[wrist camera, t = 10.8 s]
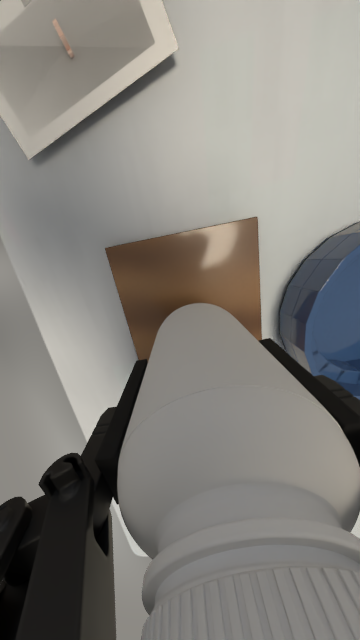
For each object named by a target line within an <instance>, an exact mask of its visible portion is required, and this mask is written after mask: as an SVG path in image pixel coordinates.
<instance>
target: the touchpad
mask: <svg viewBox="0 0 360 640" xmlns="http://www.w3.org/2000/svg"><path fill="white" fill-rule="evenodd" d="M178 49H179V47H178V44H177V42H176V39H175V36H174V33H173V30H172V27H171V25H170V22H169V19H168V16H167V13H166V10H165V8H164V5H163V2H162V0H2V1H1V2H0V116H1V117H2V119H3V120H4V122H5V124H6V125H7V127H8V128H9V130H10V131H11V133H12V134H13V136H14V138H15V139H16V141H17V142H18V144H19V145H20V147H21V149H22V150H23V152H24V153H25V155H26V156H27V158H28V160H30V159H31V158H32V157H34V156H35V155H36V154H38V153H39V152H40V151H42V150H43V149H44V148H46V147H47V146H48V145H50V144H51V143H52V142H54V141H55V140H57V139H58V138H59V137H61V136H62V135H63V134H65V133H66V132H67V131H69V130H70V129H71V128H73V127H74V126H75V125H77V124H78V123H80V122H81V121H82V120H84V119H85V118H86V117H88V116H89V115H90V114H92V113H93V112H94V111H96V110H97V109H98V108H100V107H101V106H102V105H104V104H105V103H107V102H108V101H109V100H111V99H112V98H113V97H115V96H116V95H117V94H119V93H120V92H121V91H123V90H124V89H125V88H127V87H128V86H129V85H131V84H132V83H134V82H135V81H136V80H138V79H139V78H140V77H142V76H143V75H144V74H146V73H147V72H148V71H150V70H151V69H152V68H154V67H155V66H157V65H158V64H159V63H161V62H162V61H163V60H165V59H166V58H167V57H169V56H170V55H171V54H173V53H174V52H175V51H177V50H178Z"/></svg>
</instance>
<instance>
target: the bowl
mask: <svg viewBox="0 0 360 640" xmlns="http://www.w3.org/2000/svg"><path fill="white" fill-rule="evenodd" d="M280 335H281V338H282V341H283V343H284V346H285V348H286V351H287V353H288V354H289V355H290V356H291V357H292V358H293V359H295V360H296V361H297V362H298V363H299V364H300V365H301V366H303V367H304V368H305V369H306V370H307V371H308V372H310V373H311V374H312V375H313V376H318V375H324V376H326V377H328V378H330V379H332V380H334V381H336V382H337V383H338V384H340V385H341V386H342V387H344V388H345V390H347V391H349V392H350V393H351V394H353V396H354V397H356V398H358V399H359V400H360V222H358V223H357V224H355V225H353V226H351V227H349V228H347V229H345V230H343V231H341V232H339V233H337V234H335V235H333V236H332V237H330V238H329V239H328V240H327V241H326V242H325V243H323V244H322V245H321V246H320V247H319V248H318V249H317V250H316V251H314V252H313V253H312V254H311V255H310V256H309V257H308V258H307V259H306V260H305V261H304V263H303V264H302V266H301V267H300V269H299V270H298V272H297V273H296V275H295V276H294V278H293V279H292V281H291V282H290V284H289V285H288V288H287V291H286V294H285V297H284V300H283V303H282V306H281V309H280Z"/></svg>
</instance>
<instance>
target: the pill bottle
mask: <svg viewBox="0 0 360 640" xmlns="http://www.w3.org/2000/svg"><path fill="white" fill-rule="evenodd" d="M117 491H118V501H119V507H120V511H121V514H122V517H123V520H124V523H125V525H126V527H127V529H128V531H129V533H130V534H131V536H132V537H133V539H134V540H135V542H136V543H137V544H138V546H139V547H140V548H141V549H142V550H143V551H144V552H145V553H146V554H147V555H148V556H149V557H150V558H152V559H153V560H152V562H151V563H150V565H149V566H148V568H147V570H146V573H145V575H144V580H143V589H142V601H143V605H144V607H145V610H146V611H147V613H148V614H149V615H150V617H148V618H147V620H146V622H145V624H144V626H143V629H142V636H141V640H360V539H359V538H358V537H356V536H355V535H353V534H351V533H350V532H351V530H352V529H353V527H354V525H355V523H356V521H357V518H358V515H359V512H360V467H359V464H358V461H357V458H356V456H355V453H354V451H353V449H352V447H351V445H350V443H349V441H348V439H347V438H346V436H345V434H344V433H343V431H342V429H341V427H340V426H339V424H338V423H337V421H336V420H335V419H334V418H333V417H332V415H331V414H330V413H329V412H328V411H327V410H326V409H325V408H324V407H323V406H322V405H321V404H320V403H319V402H318V400H317V399H316V398H315V397H314V396H313V395H312V394H311V393H310V392H309V391H308V390H307V389H306V388H305V387H304V386H303V385H302V384H301V383H300V382H299V381H298V380H297V379H296V378H295V377H294V376H293V375H292V374H291V373H290V372H289V371H288V370H287V369H286V368H285V367H284V366H283V365H282V364H281V363H280V362H279V361H278V360H277V359H276V358H275V357H274V356H273V355H272V354H271V353H270V352H269V351H268V350H267V349H266V348H265V347H264V346H263V345H262V344H261V343H260V342H259V341H258V340H257V339H256V338H255V337H254V336H253V335H252V334H251V333H250V332H249V331H248V330H247V329H246V328H245V327H244V326H243V325H242V324H241V323H240V322H239V321H238V320H237V319H236V318H235V317H234V316H233V315H231V314H230V313H229V312H227V311H226V310H224V309H222V308H220V307H218V306H216V305H212V304H207V303H194V304H189V305H186V306H183V307H181V308H179V309H177V310H175V311H174V312H172V313H171V314H170V315H169V316H168V317H167V318H166V319H165V320H164V322H163V323H162V325H161V326H160V328H159V330H158V333H157V335H156V339H155V342H154V345H153V348H152V352H151V355H150V358H149V361H148V364H147V368H146V371H145V374H144V377H143V380H142V384H141V387H140V390H139V393H138V396H137V400H136V403H135V406H134V409H133V412H132V416H131V419H130V422H129V425H128V428H127V432H126V435H125V438H124V441H123V445H122V449H121V452H120V457H119V461H118V478H117Z"/></svg>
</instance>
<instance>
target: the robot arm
mask: <svg viewBox="0 0 360 640" xmlns="http://www.w3.org/2000/svg"><path fill="white" fill-rule="evenodd" d="M259 342H260V343H261V344H262V345H263V346H264V347H265V348H266V349H267V350H268V351H269V352H270V353H271V354H272V355H273V356H274V357H275V358H276V359H277V360H278V361H279V362H280V363H281V364H282V365H283V366H284V367H285V368H286V369H287V370H288V371H289V372H290V373H291V374H292V375H293V376H294V377H295V378H296V379H297V380H298V381H299V382H300V383H301V384H302V385H303V386H304V387H305V388H306V389H307V390H308V391H309V392H310V393H311V394H312V395H313V396H314V397H315V398H316V399H317V400H318V402H319V403H320V404H321V405H322V406H323V407H324V408H325V409H326V410H327V411H328V412H329V413H330V414H331V415H332V417H333V418H334V419H335V420H336V421H337V423H338V424H339V426H340V427H341V429H342V431H343V433H344V434H345V436H346V438H347V439H348V441H349V443H350V445H351V447H352V449H353V451H354V453H355V456H356V458H357V461H358V464H359V467H360V400H359V399H358V398H356V397H354V396H353V394H351V393H350V392H349V391H347V390H345V388H344V387H342V386H341V385H340V384H338V383H337V382H336V381H334V380H332V379H330V378H328V377H326V376H324V375H318V376H313V375H312V374H311V373H310V372H308V371H307V370H306V369H305V368H304V367H303V366H301V365H300V364H299V363H298V362H297V361H296V360H295V359H293V358H292V357H291V356H290V355H289V354H288V353H286V352H285V351H284V350H283V349H282V348H281V347H280V346H278V345H277V344H276V343H275V342H274V341H273V340H271V339H270V338H269V339H263V340H259ZM147 364H148V362H147V359H143V360H137V361H136V363H135V365H134V368H133V370H132V372H131V375H130V377H129V379H128V382H127V384H126V386H125V389H124V391H123V394H122V396H121V398H120V401H119V403H118V405H117V407H111V408H108V409H107V410H106V411H105V412H104V413H103V414H102V415H101V417H100V419H99V421H98V423H97V425H96V427H95V429H94V431H93V433H92V435H91V437H90V439H89V441H88V443H87V445H86V447H85V449H84V451H83V453H82V455H81V456H80V455H79V454H78V453H70V454H67V455H64V456H63V457H61V458H59V459H58V460H57V461H55V462H54V463H53V464H52V465H51V466H50V467H49V468H48V469H47V471H46V472H45V473H44V474H43V476H42V478H41V480H40V482H39V486H40V487H41V489H42V490H43V491H44V493H45V495H44V496H41V497H39V498H37V499H35V500H33V501H31V502H29V503H27V502H26V501H25V499H23V498H22V497H14V498H12V499H10V500H8V501H6V502H5V503H3V504H2V505H1V506H0V640H116V621H115V620H116V618H115V591H114V564H113V538H112V516H111V512H110V509H109V508H110V504H111V501H112V497H113V498H114V500H115V501H116V503H117V504H119V501H118V491H117V478H118V461H119V457H120V452H121V449H122V445H123V441H124V438H125V435H126V432H127V428H128V425H129V422H130V419H131V416H132V412H133V409H134V406H135V403H136V400H137V396H138V393H139V390H140V387H141V384H142V380H143V377H144V374H145V371H146V368H147Z"/></svg>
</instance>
